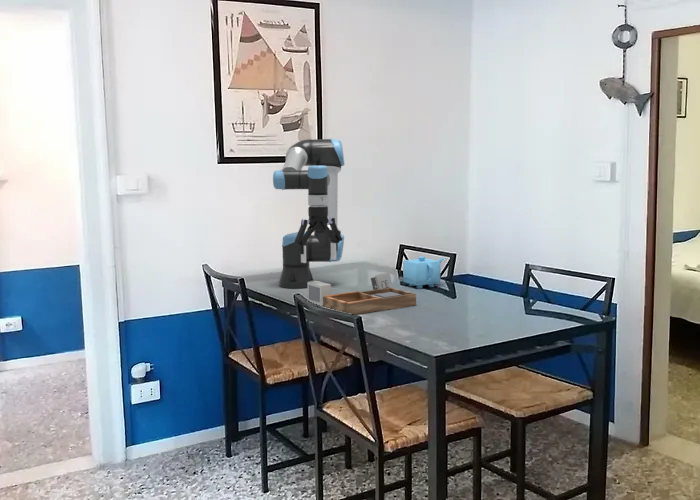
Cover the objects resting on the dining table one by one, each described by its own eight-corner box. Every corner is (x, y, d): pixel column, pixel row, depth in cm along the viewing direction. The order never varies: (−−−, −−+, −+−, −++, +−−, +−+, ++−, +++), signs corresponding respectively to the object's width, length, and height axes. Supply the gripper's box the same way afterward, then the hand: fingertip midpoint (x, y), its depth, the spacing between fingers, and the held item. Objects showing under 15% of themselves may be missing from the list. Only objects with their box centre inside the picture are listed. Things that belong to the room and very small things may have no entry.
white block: (307, 302, 299) (307, 282, 298) (317, 300, 302) (317, 280, 301) (321, 306, 291) (320, 285, 290) (331, 304, 294) (331, 284, 293)
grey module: (370, 305, 294) (370, 294, 293) (391, 302, 299) (391, 291, 299) (384, 309, 286) (384, 297, 286) (405, 306, 292) (405, 294, 291)
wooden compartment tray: (322, 308, 287) (322, 296, 286) (390, 298, 305) (390, 286, 304) (346, 316, 274) (346, 303, 273) (416, 305, 292) (416, 292, 291)
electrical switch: (381, 298, 306) (379, 275, 305) (370, 297, 309) (369, 275, 308) (394, 294, 313) (392, 272, 312) (384, 294, 316) (382, 272, 316)
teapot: (419, 290, 321) (419, 260, 319) (400, 284, 335) (400, 255, 333) (454, 286, 329) (455, 256, 328) (434, 280, 343) (434, 252, 341)
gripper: (294, 208, 281) (295, 265, 284) (350, 205, 295) (350, 259, 298) (284, 207, 287) (285, 262, 290) (339, 204, 301) (340, 257, 304)
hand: (318, 261), depth 294 cm, fingers open, 13 cm apart
